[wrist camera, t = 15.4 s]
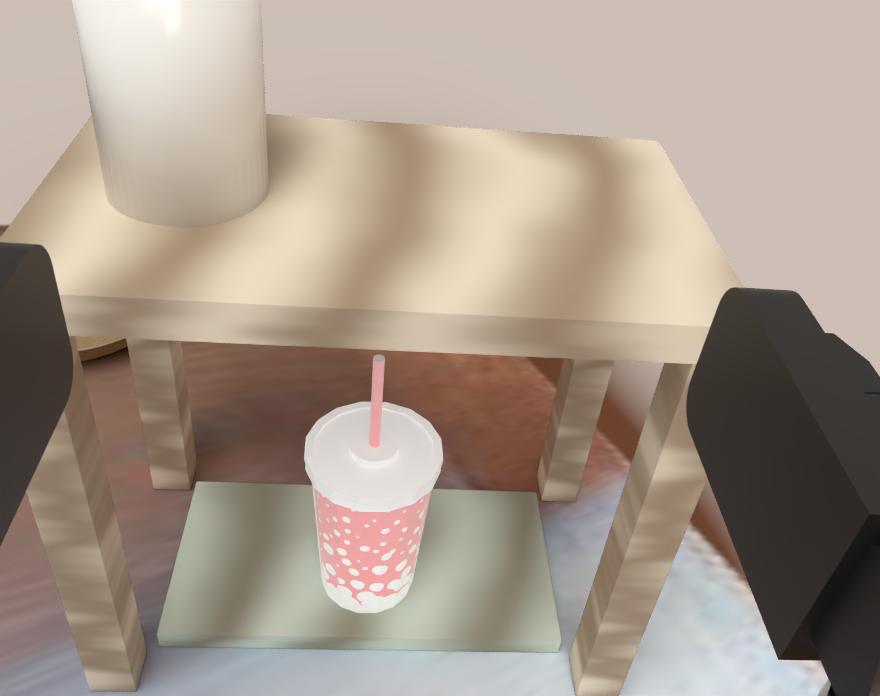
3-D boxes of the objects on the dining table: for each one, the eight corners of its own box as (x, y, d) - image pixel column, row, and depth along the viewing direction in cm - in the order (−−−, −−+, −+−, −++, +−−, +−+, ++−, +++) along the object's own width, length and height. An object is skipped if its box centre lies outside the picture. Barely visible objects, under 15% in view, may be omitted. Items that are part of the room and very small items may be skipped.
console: (90, 690, 37) (-39, 289, 24) (161, 463, 48) (100, 103, 35) (617, 696, 39) (767, 329, 26) (569, 476, 50) (657, 140, 37)
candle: (85, 221, 27) (25, -81, 22) (128, 149, 32) (88, -118, 26) (257, 231, 28) (242, -62, 22) (277, 158, 32) (267, -102, 27)
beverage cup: (441, 615, 40) (473, 399, 32) (316, 638, 39) (313, 418, 30) (412, 519, 45) (432, 308, 36) (298, 536, 43) (292, 320, 35)
